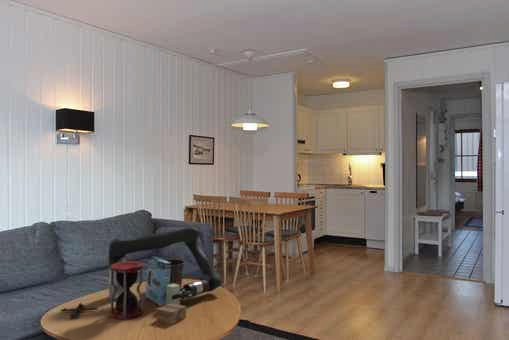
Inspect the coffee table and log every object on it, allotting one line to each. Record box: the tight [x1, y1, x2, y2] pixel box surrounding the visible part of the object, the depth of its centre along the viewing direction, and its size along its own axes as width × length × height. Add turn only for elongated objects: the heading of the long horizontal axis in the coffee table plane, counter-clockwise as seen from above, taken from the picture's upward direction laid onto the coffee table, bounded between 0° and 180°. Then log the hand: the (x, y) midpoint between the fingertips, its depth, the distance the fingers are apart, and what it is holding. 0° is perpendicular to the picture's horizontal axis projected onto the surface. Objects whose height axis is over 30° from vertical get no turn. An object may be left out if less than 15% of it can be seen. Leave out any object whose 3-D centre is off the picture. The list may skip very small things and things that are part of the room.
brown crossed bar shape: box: [60, 302, 99, 320], centre depth 210 cm, size 18×4×14 cm
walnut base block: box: [156, 303, 187, 325], centre depth 203 cm, size 10×10×6 cm
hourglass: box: [109, 261, 144, 320], centre depth 210 cm, size 16×16×25 cm
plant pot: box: [164, 258, 186, 288], centre depth 255 cm, size 16×16×16 cm
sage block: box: [166, 284, 181, 305], centre depth 219 cm, size 5×5×12 cm
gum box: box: [145, 256, 171, 307], centre depth 230 cm, size 20×5×23 cm, turn 38°
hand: (169, 296), depth 217 cm, fingers closed on sage block, 5 cm apart
